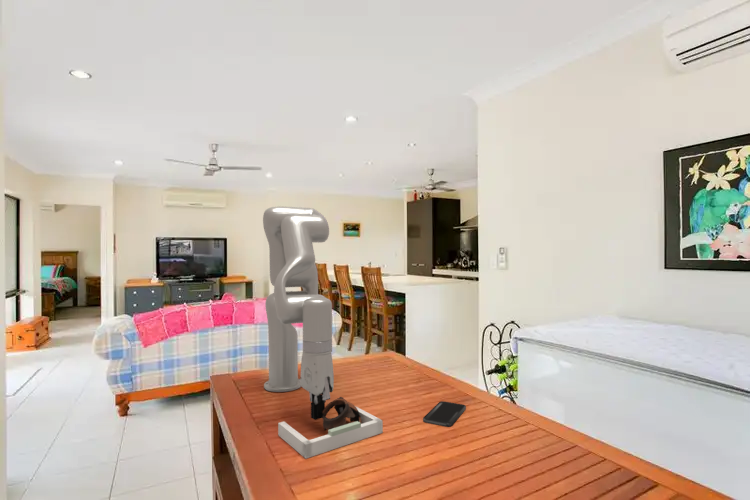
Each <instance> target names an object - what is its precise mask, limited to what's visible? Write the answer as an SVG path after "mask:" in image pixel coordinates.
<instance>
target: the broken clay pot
mask: <svg viewBox="0 0 750 500" xmlns="http://www.w3.org/2000/svg"><path fill="white" fill-rule="evenodd" d="M356 407H357V406H356ZM356 407H355V404H353V403H352V402H349V401H348V400H346V399H345V398H344V397H342V396H339V397H338V398H337V399H334V400H332V401H330V402H329V403H327V405H325V408H324V410H323V414H324V415H323V417H322V418H321V419H322V426H323V429H324V431H326V430H329V429H333V428H336V427H339V426H342V425H346V424H347V419H349V421H350V422H349V423H352V422H356V421H358V422H360V423H361V424H362V421H361V417H360V414H359V411H358V410H357V408H356ZM333 408H334V409H335V411H336V413H337V415H336V416H335V417H332V418H329V417H327V415H328V413H329V412H330V411H331V410H332V409H333ZM346 418H347V419H346Z"/></svg>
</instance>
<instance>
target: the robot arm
mask: <svg viewBox="0 0 750 500" xmlns="http://www.w3.org/2000/svg"><path fill="white" fill-rule="evenodd" d="M262 225H263V230H264V234H265V237H266V239H267V242H268V248H269V249H268V250H269V257H268V258H269V280H270V284H271V285H272V286H273V293H270V294H268V296H267V297H266V299H265V305H264V306H265V312H266V318H267V330H268V332H267V333H268V335H267V336H268V380H267V381H266V382H264V384H263V389H264V390H266V391H268V392H274V393H286V392H291V391H296V390H298V389H300V388H301V387H302V389H304V390H305V391H306V392H308V394H309V401H310V418H311V419H313V420H314V421H315V420H316V421H317V420H319V419H323V418H322V417H323V415H324V414H323V410H324V408H325V407H326V402H327V401H328V400H331V393H332V392H333V391H334V385H335V382H334V381H335V380H334V379H335V378H334V377H335V376H334V374H335V373H334V363H333V357H332V355H333V354H332V353H333V303H332V301H331V299H329V298H327V297H326V296H325V295H322V294H319V275H318V274H319V273H318V268H317V265H316V255H315V250H314V245H313V244H314V243H318V244H319V243H325V242H326V241H328V239H329V235H330V227H329V223H328V221H327V218H326V217H325V216H324V215H323V214H322V213H321V212H319V211H318V210H317V209H315V208H312V207H301V206H299V207H298V206H297V207H296V206H271V207H269V208H267V209H265V211H264V212H263V216H262ZM286 288H302V290H296V291H293V290H289V291H288V290H287V291H286ZM293 324H302V354H301V362H300V378H299V366H298V365H299V361H298V359H299V358H298V357H299V355H298V352H299V351H298V350H299V349H298V348H299V347H298V346H299V344H298V343H299V341H298V339H299V338H298V332H297V328H295V326H294V325H293Z"/></svg>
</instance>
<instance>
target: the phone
mask: <svg viewBox="0 0 750 500" xmlns="http://www.w3.org/2000/svg"><path fill="white" fill-rule="evenodd" d="M466 407H467V406H466V405H465V404H461V403H456V402H451V401H443V400H441V401H439V402H438V403H437V404H435V406H433V408H431V410H429V412H427V413H426V414H425V416H423V417H422V422H423V423H425V424H429V425H434V426H440V427H444V428H451V427H453V425H454V424H455V423H456V421H457V420H458V419H459V418H460V417H461V416H462V414H463V413H464V412H465V411H466V409H467V408H466Z"/></svg>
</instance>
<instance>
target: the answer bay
mask: <svg viewBox="0 0 750 500" xmlns="http://www.w3.org/2000/svg"><path fill="white" fill-rule="evenodd" d="M354 406H355V405H354ZM355 407H356V408H357V410H358V411H359V414H360V417H361V421H362V424H361V423H360V422H358V421H356V422H349V423H346V425H342V426H339V427H336V428H333V429H327V434H325V435H322V436H318V437H314V438H312V439H308V438H306V437H305V436H304V435H302V433H300V432H299V431H297V430H296V429H295V428H293V427H292V426H291V425H289V424H288V423H287V422H286V421H285V420H284V421H281V422H278V424H277V425H278V427H277V428H278V430H277V433H278V437H280V438H281V439H282V440H283V441H285V443H287V444H288V445H289V446H290V447H292V449H293V450H294V451H295V452H297V453H299V454H300V455H301V456H302V457H303V458H304V459H305V460H306V459H308V458H312V457H314V456H317V455H321V454H323V453H326V452H329V451H332V450H336V449H338V448H341V447H345V446H348V445H350V444H353V443H356V442H359V441H363V440H366V439H368V438H370V437H373V436H377V435H380V434H383V433H384V432H383V431H384V429H383V428H384V427H383V423H384V422H383V419H381V418H379V417H376V416H375V415H373V414H371V413H370V412H367V411H366V410H364V409H362V408H360V407H359V406H355Z"/></svg>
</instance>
